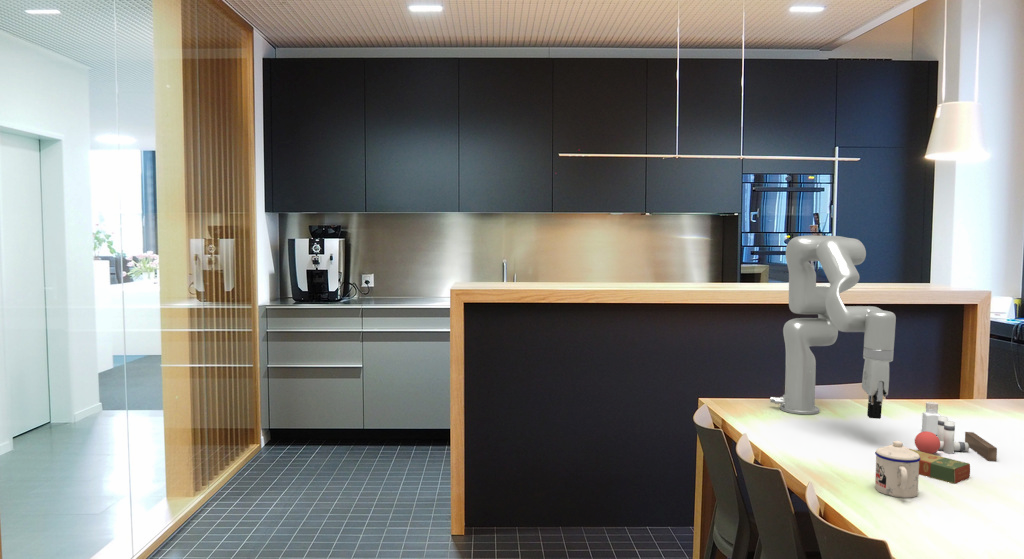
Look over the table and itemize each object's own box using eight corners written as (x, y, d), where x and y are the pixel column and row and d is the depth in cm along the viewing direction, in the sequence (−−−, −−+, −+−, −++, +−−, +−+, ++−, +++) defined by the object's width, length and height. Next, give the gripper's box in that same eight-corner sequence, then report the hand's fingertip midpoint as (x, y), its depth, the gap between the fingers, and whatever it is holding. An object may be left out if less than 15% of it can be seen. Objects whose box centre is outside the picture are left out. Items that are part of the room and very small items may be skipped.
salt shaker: (940, 436, 207) (942, 404, 206) (926, 435, 207) (927, 404, 207) (935, 432, 210) (936, 401, 210) (921, 431, 211) (922, 401, 211)
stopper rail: (987, 460, 183) (988, 447, 183) (964, 443, 199) (965, 431, 199) (996, 461, 183) (997, 448, 183) (972, 444, 198) (973, 432, 198)
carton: (903, 462, 183) (904, 446, 183) (970, 479, 170) (971, 462, 170) (886, 467, 179) (887, 451, 179) (954, 485, 165) (955, 468, 165)
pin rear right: (944, 453, 189) (945, 422, 189) (941, 450, 192) (942, 420, 191) (955, 454, 189) (956, 423, 188) (952, 451, 191) (953, 421, 191)
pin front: (934, 443, 192) (969, 445, 190) (932, 438, 194) (966, 440, 192) (933, 451, 193) (968, 453, 191) (930, 446, 195) (964, 448, 193)
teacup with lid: (870, 483, 166) (872, 434, 165) (913, 487, 163) (915, 438, 163) (881, 500, 154) (882, 449, 154) (927, 505, 152) (929, 452, 151)
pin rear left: (938, 448, 194) (939, 418, 194) (935, 445, 197) (936, 416, 196) (948, 448, 194) (949, 418, 193) (945, 446, 196) (946, 416, 196)
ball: (935, 460, 189) (911, 451, 193) (942, 440, 191) (918, 431, 194) (936, 454, 184) (911, 444, 188) (944, 433, 186) (919, 425, 189)
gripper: (857, 348, 204) (853, 409, 206) (870, 358, 190) (865, 424, 192) (885, 349, 202) (881, 411, 204) (900, 360, 188) (895, 426, 190)
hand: (874, 417), depth 198 cm, fingers closed
